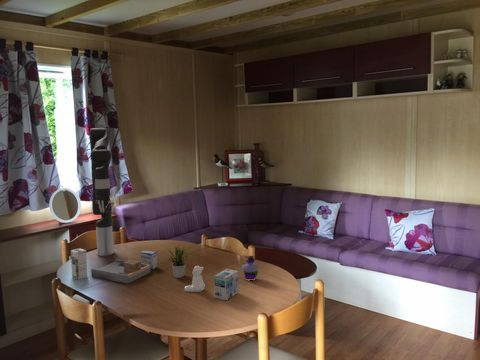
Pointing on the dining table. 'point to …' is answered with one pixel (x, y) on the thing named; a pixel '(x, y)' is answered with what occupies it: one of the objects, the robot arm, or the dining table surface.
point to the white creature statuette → (196, 281)
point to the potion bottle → (250, 268)
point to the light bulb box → (226, 284)
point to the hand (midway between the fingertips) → (104, 218)
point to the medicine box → (149, 258)
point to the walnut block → (131, 266)
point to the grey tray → (120, 272)
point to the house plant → (178, 262)
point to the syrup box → (79, 263)
